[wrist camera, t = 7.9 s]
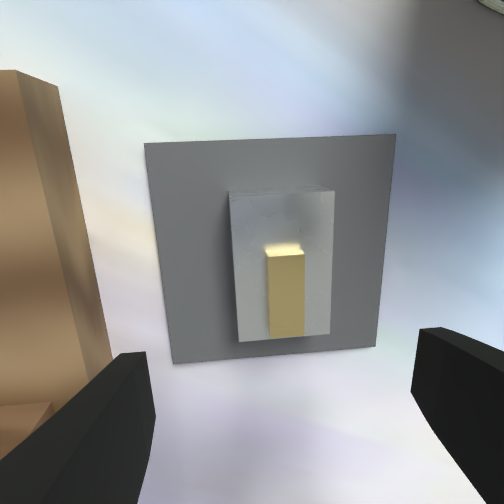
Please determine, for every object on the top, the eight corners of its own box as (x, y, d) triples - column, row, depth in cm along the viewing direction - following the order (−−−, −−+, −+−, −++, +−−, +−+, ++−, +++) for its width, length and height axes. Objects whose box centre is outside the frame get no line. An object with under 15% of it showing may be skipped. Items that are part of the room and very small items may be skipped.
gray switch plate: (371, 341, 20) (375, 346, 19) (174, 358, 19) (173, 364, 18) (390, 134, 16) (395, 134, 15) (146, 143, 15) (143, 143, 15)
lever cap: (316, 310, 18) (334, 342, 15) (236, 317, 18) (239, 350, 15) (318, 185, 16) (340, 193, 13) (228, 190, 16) (229, 199, 13)
